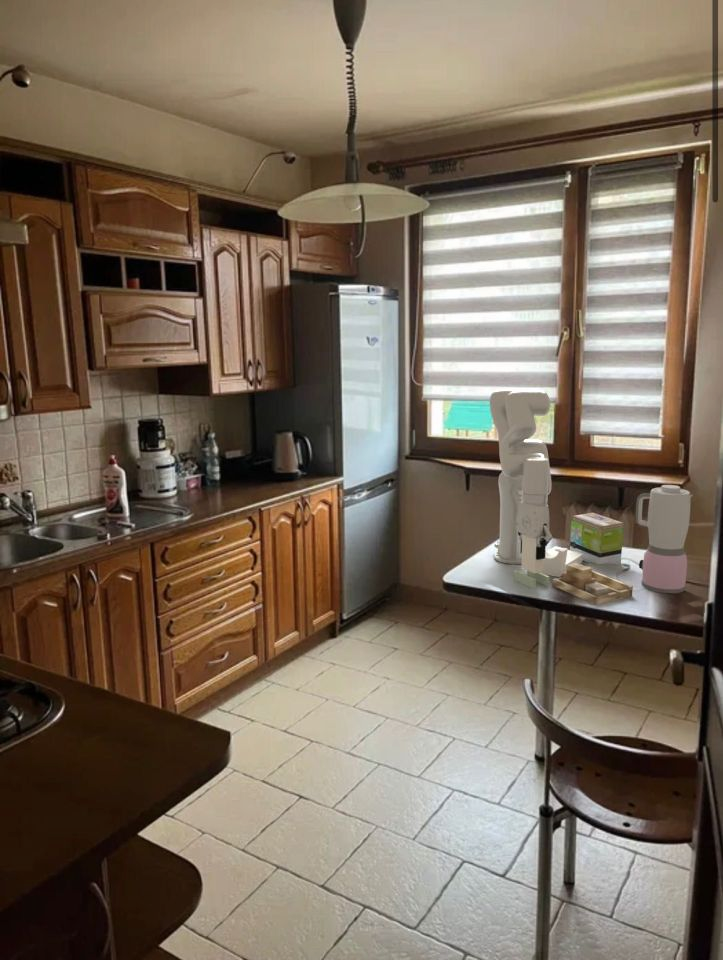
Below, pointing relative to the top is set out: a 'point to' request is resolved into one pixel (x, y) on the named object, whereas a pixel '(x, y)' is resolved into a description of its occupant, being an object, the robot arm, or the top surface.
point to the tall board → (530, 555)
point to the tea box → (597, 538)
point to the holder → (531, 578)
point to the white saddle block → (559, 560)
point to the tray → (614, 586)
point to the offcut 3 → (596, 589)
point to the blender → (665, 538)
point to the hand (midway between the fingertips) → (532, 555)
